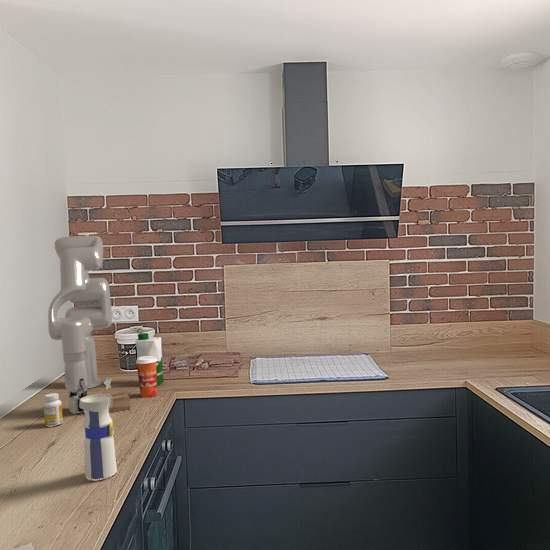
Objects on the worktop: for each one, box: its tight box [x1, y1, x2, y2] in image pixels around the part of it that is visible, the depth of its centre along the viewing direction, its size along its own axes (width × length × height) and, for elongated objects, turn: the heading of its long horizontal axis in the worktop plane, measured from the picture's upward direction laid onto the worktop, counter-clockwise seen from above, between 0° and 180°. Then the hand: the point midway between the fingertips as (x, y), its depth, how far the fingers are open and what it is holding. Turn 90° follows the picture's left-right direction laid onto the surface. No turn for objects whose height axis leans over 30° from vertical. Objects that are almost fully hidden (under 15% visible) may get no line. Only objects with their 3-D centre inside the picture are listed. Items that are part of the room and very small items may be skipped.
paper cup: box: [135, 356, 158, 398], centre depth 225 cm, size 8×8×14 cm
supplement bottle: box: [43, 392, 64, 426], centre depth 195 cm, size 5×5×10 cm
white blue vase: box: [79, 376, 118, 479], centre depth 152 cm, size 8×8×25 cm
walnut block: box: [102, 390, 131, 414], centre depth 210 cm, size 10×10×5 cm
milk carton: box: [134, 332, 164, 386], centre depth 242 cm, size 9×9×20 cm
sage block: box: [68, 396, 84, 413], centre depth 209 cm, size 5×5×5 cm
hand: (78, 408), depth 209 cm, fingers open, 7 cm apart
